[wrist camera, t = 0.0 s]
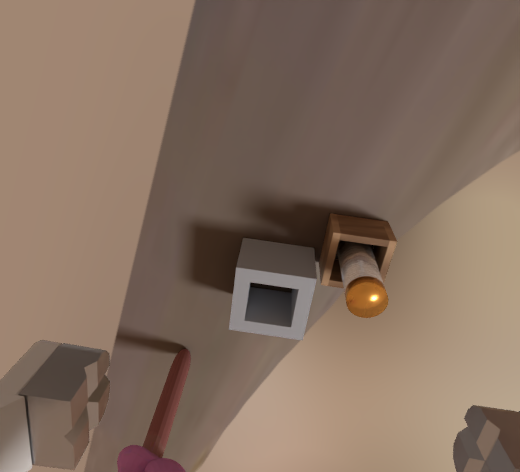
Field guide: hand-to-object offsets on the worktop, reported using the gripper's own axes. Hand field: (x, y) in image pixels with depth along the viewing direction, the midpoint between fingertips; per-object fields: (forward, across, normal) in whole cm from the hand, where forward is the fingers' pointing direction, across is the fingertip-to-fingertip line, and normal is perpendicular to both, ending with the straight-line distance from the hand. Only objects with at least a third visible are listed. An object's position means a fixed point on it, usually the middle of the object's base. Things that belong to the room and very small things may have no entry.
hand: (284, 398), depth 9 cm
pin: (+40, -10, +12) cm, 43 cm away
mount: (+40, -10, +12) cm, 43 cm away
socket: (+41, -1, +18) cm, 45 cm away
